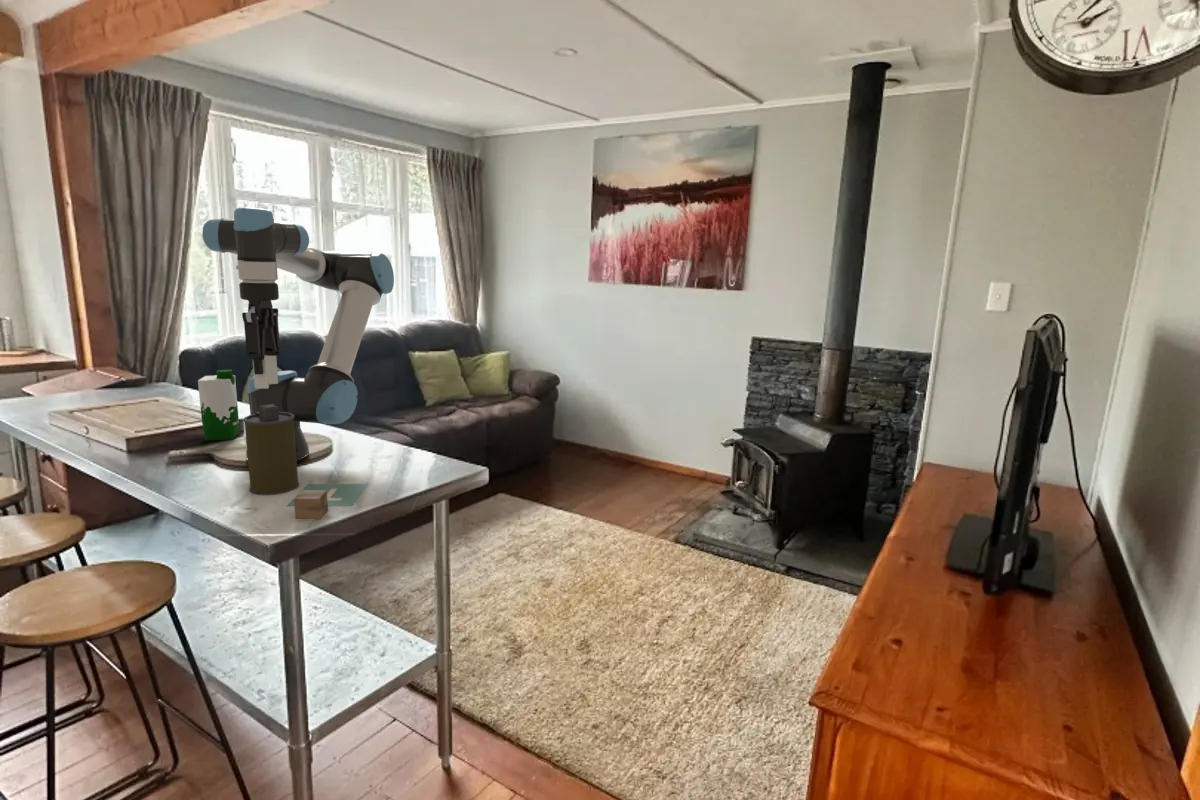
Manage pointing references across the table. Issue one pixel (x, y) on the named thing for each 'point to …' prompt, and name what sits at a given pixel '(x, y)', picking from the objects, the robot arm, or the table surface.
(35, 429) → the table surface
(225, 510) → the table surface
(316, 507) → the block
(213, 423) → the milk carton
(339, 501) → the letter card
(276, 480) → the canister
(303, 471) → the table surface
